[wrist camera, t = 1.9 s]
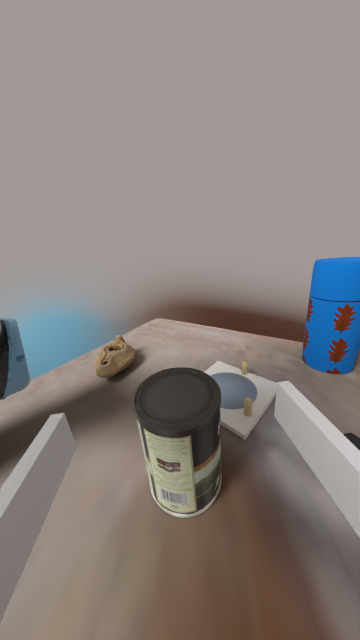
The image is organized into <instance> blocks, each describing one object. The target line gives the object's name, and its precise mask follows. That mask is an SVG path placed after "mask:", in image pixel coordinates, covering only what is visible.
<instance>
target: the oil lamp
mask: <svg viewBox="0 0 360 640" xmlns="http://www.w3.org/2000/svg"><path fill="white" fill-rule="evenodd" d="M134 357H135V350H134V348H132V347H131V346H129V345H127V344H126V342H125V341H124V339H123V337H122V336H121V335H118V336H116V337H115V342H114V343H112V344H110V345H108V346H106V347H104V348H103V349H102V351H101V352H100V353H99V354H98V355H97V357H96V359H95V368H96V373H97V376H100V377H104V378H109V377H112V376H114V375H115V374H117V373H118V372H121V371H123V370H124V369H125V368H127V367H128V366H129V365H130V364H131V363H132V361H133V360H134Z"/></svg>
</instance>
